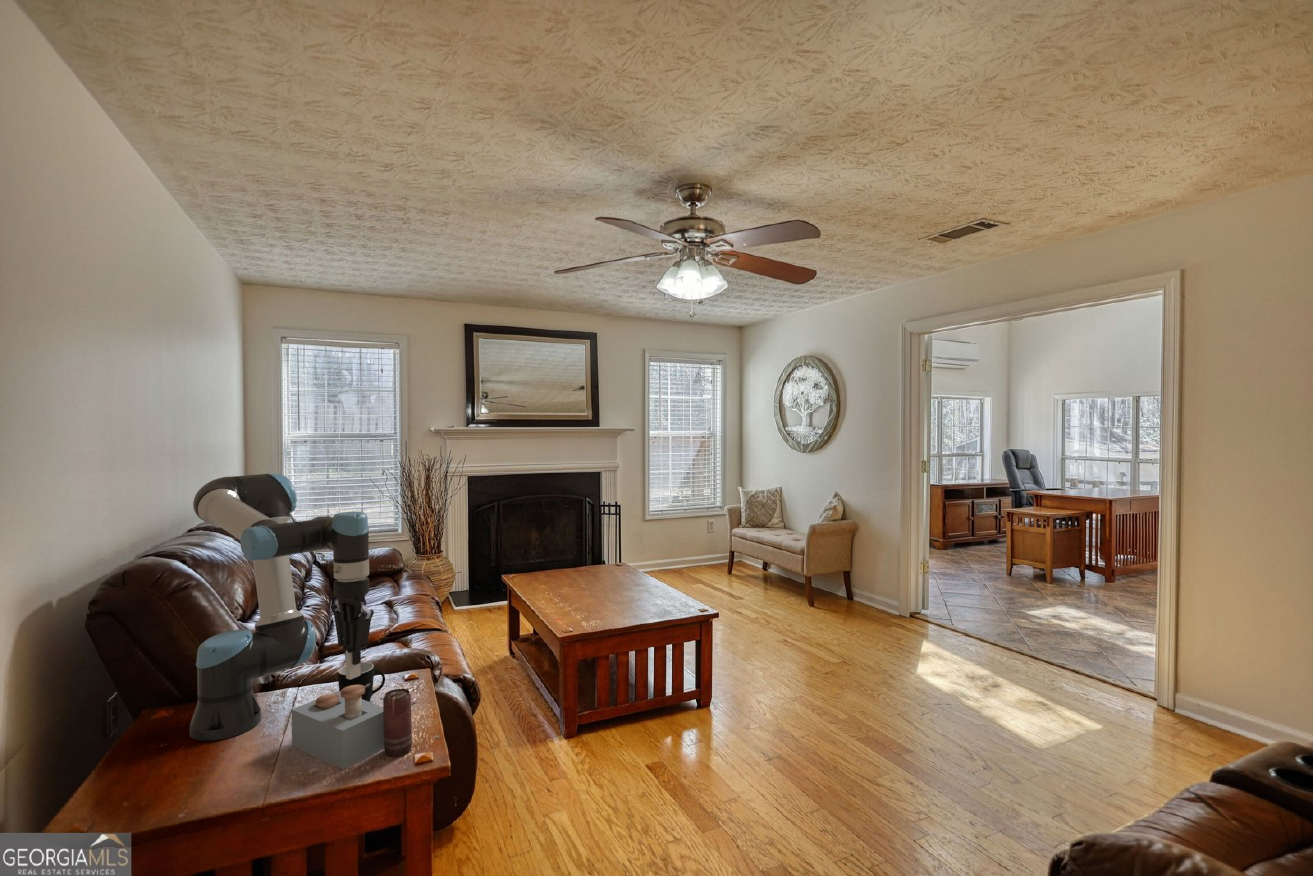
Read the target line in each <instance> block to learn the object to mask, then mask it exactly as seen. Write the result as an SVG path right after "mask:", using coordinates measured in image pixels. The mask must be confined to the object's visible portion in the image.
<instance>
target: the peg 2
mask: <svg viewBox="0 0 1313 876" xmlns="http://www.w3.org/2000/svg"><path fill="white" fill-rule="evenodd" d="M364 693H365V686H363V685H351V686H348V687H345V688H343V689H342V690H341V697H342V698H345V719H347V720H350V721H351V720H353V719H355V718H358V717H360V716H362V703H361V695H363V694H364Z"/></svg>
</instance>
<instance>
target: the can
mask: <svg viewBox="0 0 1313 876" xmlns="http://www.w3.org/2000/svg"><path fill="white" fill-rule="evenodd" d="M382 704H383V705H382V707H383V717H384V750H383V751H384V754H385V755H386V756H387V757H390V758H395V757H402V756H404V755H407V754H408V753H409V752H410V751H411V749H412V747H413V742H412V741H413V735H412V734H413V730H412V728H413V727H412V726H413V725H412V693H410V690H409V689H407V688H396V689H395V688H394V689H391V690H389V691H387V692H386V693H385V694H384V697H383V700H382Z"/></svg>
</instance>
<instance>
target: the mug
mask: <svg viewBox="0 0 1313 876" xmlns="http://www.w3.org/2000/svg"><path fill="white" fill-rule="evenodd" d="M374 666H375V665H374V664H373V663H371V662H367V661H361V663H360V673H361V676H358V677H356V678H353V679H347V678H346V664H345V665H343V666H342V667H340V668H339V669H338V671H337V681H338V682H337V683H338V684H337V685H338V691H340V692H341V690H342V689H343V688H345V687H348V686H351V685H363V686H365V693H364V694H363V695H361V699H362V700H365V701H368V702H370V701H371V699H372V696H373V695H374V694H376V693H377V692H379V691H380V690H381V689H382V688H383V686H384V685H385V683H386V676H385V673H384V672H383V671H381V670H379V669H375V667H374ZM375 674H380V675H381V677H382V679H381V680H382V681H381V683H380V685H379V686H378V687H376V688H375V689H374V678H375Z"/></svg>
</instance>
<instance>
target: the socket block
mask: <svg viewBox="0 0 1313 876" xmlns="http://www.w3.org/2000/svg"><path fill="white" fill-rule="evenodd" d="M330 694H338V695H339V696H340V701H339V702H338V703H337V704H336V706H334V707H332V708H329V709H327V710H322V709H319V707H317V706H316V699H314V700H311V701H309V702H307V703H305V704H302V705H300V706H297V707H294V708H292V709H291V746H292V747H293V748H295V749H297V750H300V751H302V752H304V753H306V754H308V755H311V756H312V757H315V758H317V759H319V760H322V761H324V762H326V763H328V764H329V765H332V766H334V767H336V768H338V769H340V770H346V769H348V768H349V767H351V766H353V765H355V764H357V763H359V762H360V761H361V762H362V760H365V759H366V758H369V757H371V756H372V755H374V754H376V753H378V752H379V751H382V750H383V749H384V717H383V705H379V704H376V703H373V702H370V701H369V702H368V701H365V700H362V699H361V703H362V716H360V717H358V718H355V719H353V720H351V721H350V720H347V719H345V698H342V697H341V692H340V691H339V690H337V691H334V692H332V693H330Z"/></svg>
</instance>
